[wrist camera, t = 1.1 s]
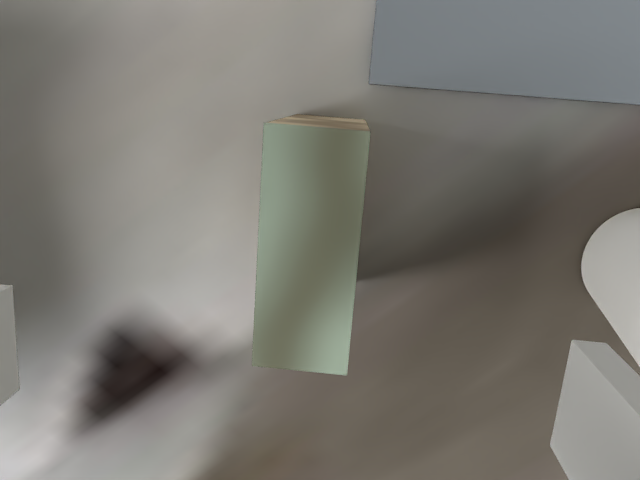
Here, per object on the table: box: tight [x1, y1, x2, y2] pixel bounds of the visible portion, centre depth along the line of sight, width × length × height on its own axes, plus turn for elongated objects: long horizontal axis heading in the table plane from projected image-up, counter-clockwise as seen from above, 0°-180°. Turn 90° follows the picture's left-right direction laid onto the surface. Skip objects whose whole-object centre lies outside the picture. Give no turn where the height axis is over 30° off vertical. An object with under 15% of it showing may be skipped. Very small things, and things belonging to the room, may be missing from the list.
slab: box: [252, 114, 371, 375], centre depth 28 cm, size 4×10×12 cm, turn 176°
